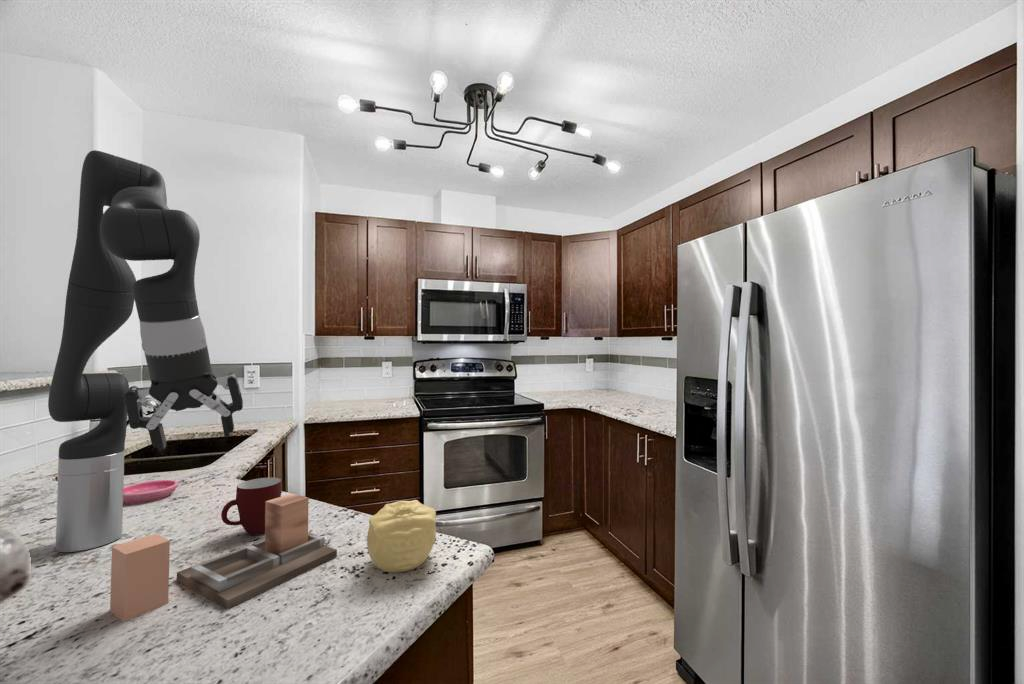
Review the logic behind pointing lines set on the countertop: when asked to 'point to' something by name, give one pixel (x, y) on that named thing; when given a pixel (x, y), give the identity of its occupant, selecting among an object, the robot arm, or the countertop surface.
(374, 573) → the countertop surface
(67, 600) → the countertop surface
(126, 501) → the saucer
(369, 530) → the sculpture
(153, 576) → the pillar
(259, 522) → the mug
